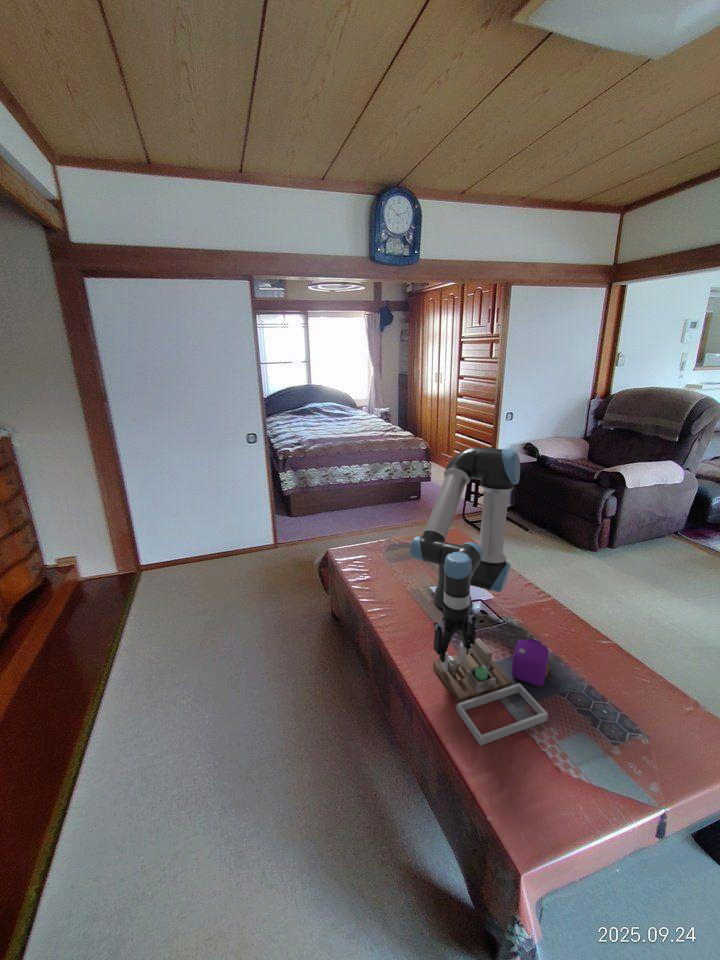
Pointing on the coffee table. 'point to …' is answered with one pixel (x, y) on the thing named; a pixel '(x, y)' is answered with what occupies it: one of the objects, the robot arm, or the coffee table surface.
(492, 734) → the rectangular frame
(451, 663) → the lighter
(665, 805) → the coffee table surface
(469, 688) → the station
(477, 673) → the button
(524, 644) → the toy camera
